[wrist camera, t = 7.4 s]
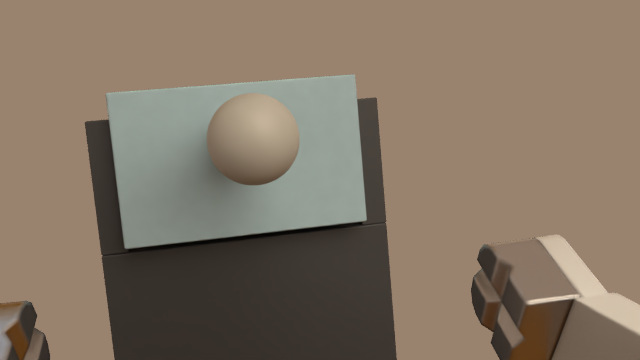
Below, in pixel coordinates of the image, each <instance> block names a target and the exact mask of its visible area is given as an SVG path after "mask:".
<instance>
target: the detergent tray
mask: <svg viewBox="0 0 640 360" xmlns="http://www.w3.org/2000/svg"><path fill="white" fill-rule="evenodd" d="M106 101H107V109H108V117H109V125H110V134H111V142H112V150H113V158H114V166H115V175H116V183H117V191H118V199H119V207H120V215H121V224H122V232H123V240H124V248H125V249H133V248H142V247H150V246H159V245H167V244H176V243H185V242H193V241H202V240H210V239H219V238H227V237H236V236H245V235H253V234H262V233H270V232H279V231H287V230H296V229H305V228H313V227H322V226H330V225H339V224H348V223H356V222H365V221H366V220H367V217H366V205H365V192H364V180H363V167H362V155H361V142H360V130H359V117H358V105H357V93H356V81H355V75H353V74H352V75H339V76H326V77H312V78H299V79H288V80H287V79H286V80H273V81H260V82H246V83H233V84H220V85H207V86H193V87H181V88H167V89H154V90H140V91H128V92H114V93H107V94H106Z"/></svg>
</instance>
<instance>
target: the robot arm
mask: <svg viewBox="0 0 640 360" xmlns="http://www.w3.org/2000/svg"><path fill="white" fill-rule="evenodd" d="M477 260H478V262H479V264H480V265H481V267H482V269H481V270H480V271H479V272H478V273H477V274H476V275H475V276H474V277H473V282H472V288H471V293H472V303H473V306H474V310H475V313H476V315H477V317H478V319H479V321H480V323H481V324H482V325H483V326H485V327H486V328H488V329H489V330H491V331H492V332H494V333H493V337H492V341H491V344H492V346H493V347H494V349H495V351H496V353H497V355H498V357H499V359H500V360H640V305H639V304H637V303H635V302H633V301H631V300H629V299H627V298H625V297H623V296H621V295H620V294H618V293H608V292H607V291H606V290H605V288H604V287H603V286H602V285H601V284H600V282H599V281H598V280H597V279H596V277H595V276H594V275H593V274H592V272H591V271H590V270H589V269H588V267H587V266H586V265H585V264H584V262H583V261H582V260H581V259H580V257H579V256H578V255H577V254H576V252H575V251H574V250H573V249H572V248H571V246H570V245H569V244H568V243H567V241H566V240H565V239H564V238H563V237H561V236H559V235H558V234H557V235H551V236H542V237H536V238H532V239H530V238H529V239H521V240H513V241H506V242H498V243H491V244H484V245H483V246H482V248H481V249H480V251H479V255H478V259H477ZM36 318H37V314H36V312H35V310H34V307H33V305H32V303H31V302H28V301H20V302H10V303H0V360H50V353H49V349H48V343H47V340H46V337H45V335H44V333H43V332H41V331H39V330H38V329H36V328H34V326H35V322H36Z"/></svg>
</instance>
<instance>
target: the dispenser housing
mask: <svg viewBox="0 0 640 360" xmlns="http://www.w3.org/2000/svg"><path fill="white" fill-rule="evenodd" d="M357 105H358V117H359V130H360V142H361V155H362V167H363V180H364V192H365V205H366V217H367V220H366V221H365V222H356V223H348V224H339V225H330V226H322V227H313V228H305V229H296V230H287V231H279V232H270V233H262V234H253V235H245V236H236V237H227V238H219V239H210V240H202V241H193V242H185V243H176V244H167V245H159V246H150V247H142V248H133V249H125V248H124V240H123V232H122V224H121V215H120V207H119V199H118V191H117V183H116V175H115V166H114V158H113V150H112V142H111V134H110V125H109V120H99V121H87V122H85V128H86V136H87V144H88V152H89V160H90V167H91V175H92V183H93V191H94V199H95V207H96V215H97V223H98V230H99V239H100V247H101V254H102V255H103V256H102V263H103V270H104V278H105V285H106V294H107V301H108V309H109V318H110V326H111V334H112V342H113V349H114V357H115V360H397V358H396V345H395V332H394V320H393V306H392V293H391V280H390V267H389V255H388V241H387V229H386V223H385V222H386V215H385V202H384V188H383V175H382V162H381V149H380V136H379V123H378V110H377V98H365V99H357Z"/></svg>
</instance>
